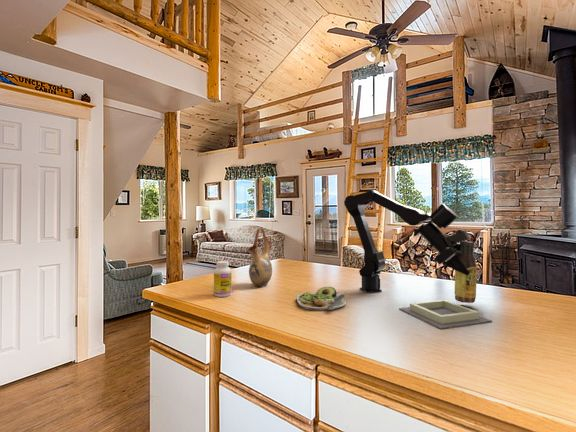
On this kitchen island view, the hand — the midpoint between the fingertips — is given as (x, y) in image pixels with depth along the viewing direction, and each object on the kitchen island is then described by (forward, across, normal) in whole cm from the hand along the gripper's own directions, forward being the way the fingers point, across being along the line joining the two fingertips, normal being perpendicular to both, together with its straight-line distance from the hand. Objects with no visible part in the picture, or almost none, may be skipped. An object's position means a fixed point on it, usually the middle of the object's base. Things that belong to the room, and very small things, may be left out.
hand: (470, 272), depth 105 cm
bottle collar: (+5, -14, +12) cm, 19 cm away
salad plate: (-21, -26, +38) cm, 50 cm away
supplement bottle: (-46, -41, +63) cm, 88 cm away
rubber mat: (+5, -14, +12) cm, 19 cm away
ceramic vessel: (-45, -21, +62) cm, 79 cm away
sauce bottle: (+6, 0, +8) cm, 10 cm away
